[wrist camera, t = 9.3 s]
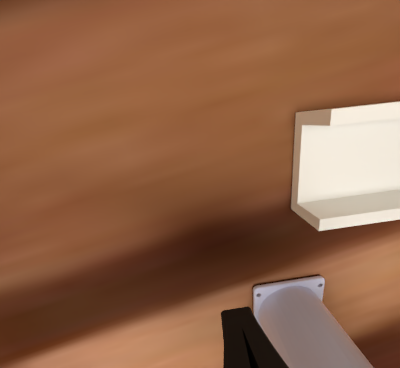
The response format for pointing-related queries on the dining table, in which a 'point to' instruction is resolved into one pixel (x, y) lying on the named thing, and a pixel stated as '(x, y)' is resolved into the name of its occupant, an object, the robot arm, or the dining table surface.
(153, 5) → the dining table surface
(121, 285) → the dining table surface
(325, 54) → the dining table surface
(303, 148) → the chute
